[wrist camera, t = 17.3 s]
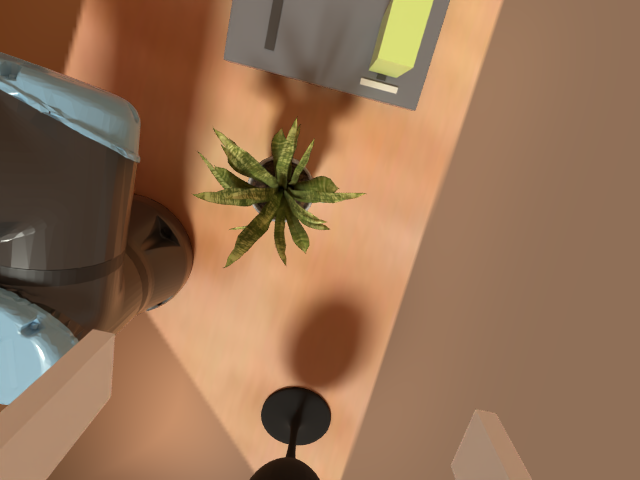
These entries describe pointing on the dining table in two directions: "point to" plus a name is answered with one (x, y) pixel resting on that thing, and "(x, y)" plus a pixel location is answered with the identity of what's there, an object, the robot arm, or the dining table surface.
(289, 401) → the wine glass
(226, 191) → the house plant
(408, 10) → the fader lime
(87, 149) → the robot arm
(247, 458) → the dining table surface
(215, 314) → the dining table surface
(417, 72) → the mixing board
